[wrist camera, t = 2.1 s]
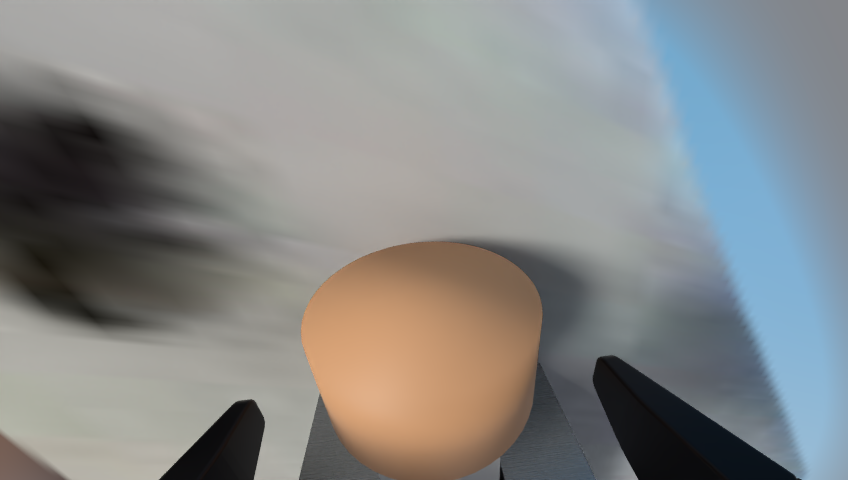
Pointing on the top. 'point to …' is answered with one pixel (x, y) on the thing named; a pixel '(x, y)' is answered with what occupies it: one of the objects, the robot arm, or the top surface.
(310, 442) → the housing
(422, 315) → the white and tan bar
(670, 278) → the top surface
